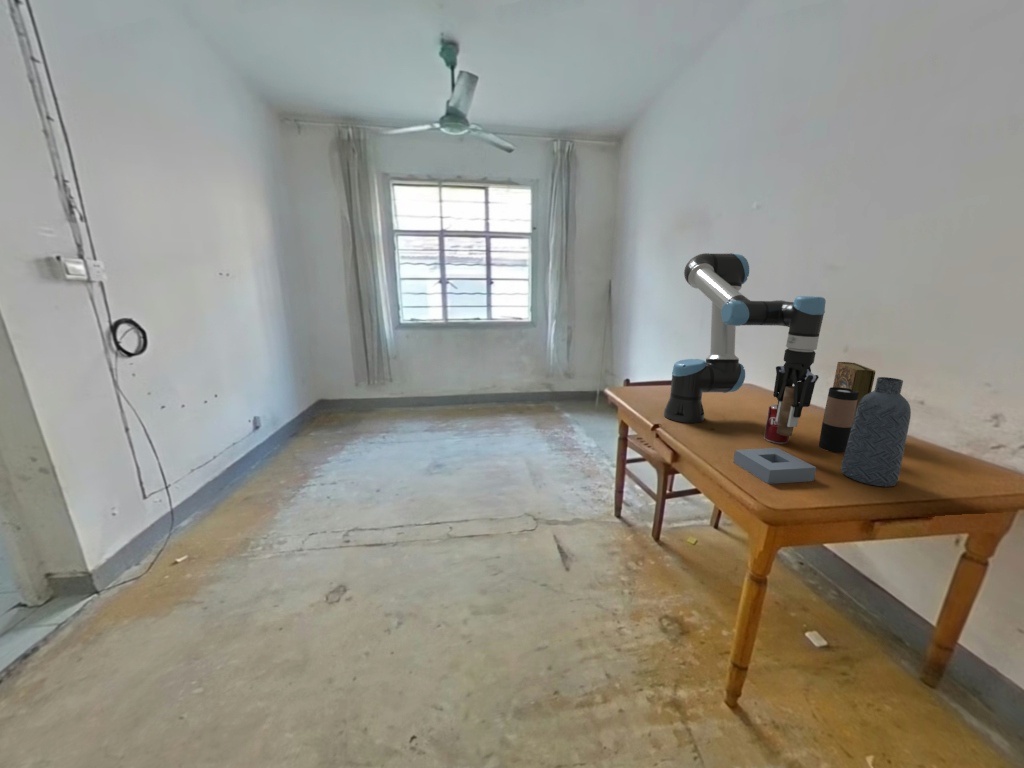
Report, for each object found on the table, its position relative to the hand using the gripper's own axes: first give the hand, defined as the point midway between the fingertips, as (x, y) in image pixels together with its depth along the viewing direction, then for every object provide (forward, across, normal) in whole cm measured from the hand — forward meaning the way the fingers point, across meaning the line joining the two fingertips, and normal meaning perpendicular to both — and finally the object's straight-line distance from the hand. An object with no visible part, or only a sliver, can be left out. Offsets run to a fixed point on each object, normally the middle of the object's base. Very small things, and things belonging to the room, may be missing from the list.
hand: (786, 423), depth 128 cm
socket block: (+10, +11, -12) cm, 19 cm away
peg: (+3, 0, 0) cm, 3 cm away
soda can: (+11, -11, +8) cm, 17 cm away
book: (+11, -15, +38) cm, 42 cm away
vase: (+10, +18, +12) cm, 24 cm away
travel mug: (+11, -2, +21) cm, 24 cm away
